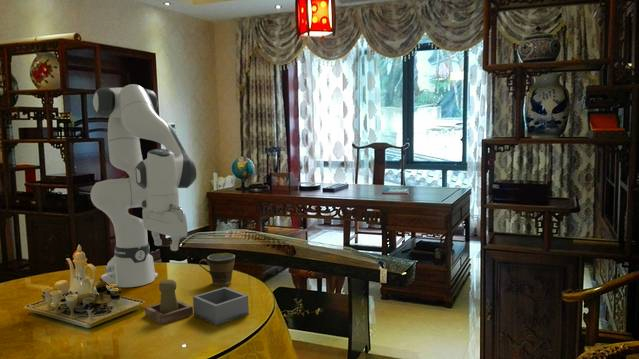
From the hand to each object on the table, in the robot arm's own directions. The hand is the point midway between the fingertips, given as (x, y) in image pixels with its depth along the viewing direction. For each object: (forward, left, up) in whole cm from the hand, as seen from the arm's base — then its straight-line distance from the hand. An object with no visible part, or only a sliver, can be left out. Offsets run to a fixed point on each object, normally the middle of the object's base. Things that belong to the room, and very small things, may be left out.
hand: (166, 247), depth 158 cm
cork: (0, 0, -22) cm, 22 cm away
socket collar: (0, 0, -21) cm, 21 cm away
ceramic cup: (-14, +28, -22) cm, 38 cm away
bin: (+12, +11, -21) cm, 27 cm away
